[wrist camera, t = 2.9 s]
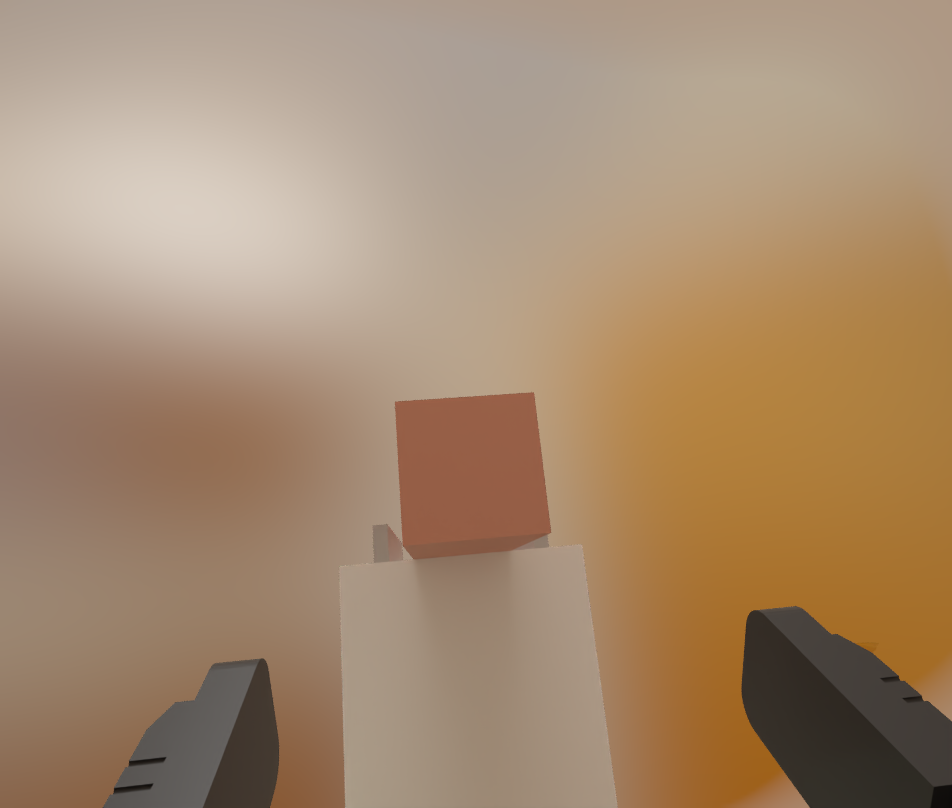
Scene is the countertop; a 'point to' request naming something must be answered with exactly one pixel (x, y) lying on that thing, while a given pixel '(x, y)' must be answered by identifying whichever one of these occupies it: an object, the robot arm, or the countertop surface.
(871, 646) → the countertop surface
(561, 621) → the stand
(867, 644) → the countertop surface
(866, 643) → the countertop surface
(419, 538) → the long salmon orange block
